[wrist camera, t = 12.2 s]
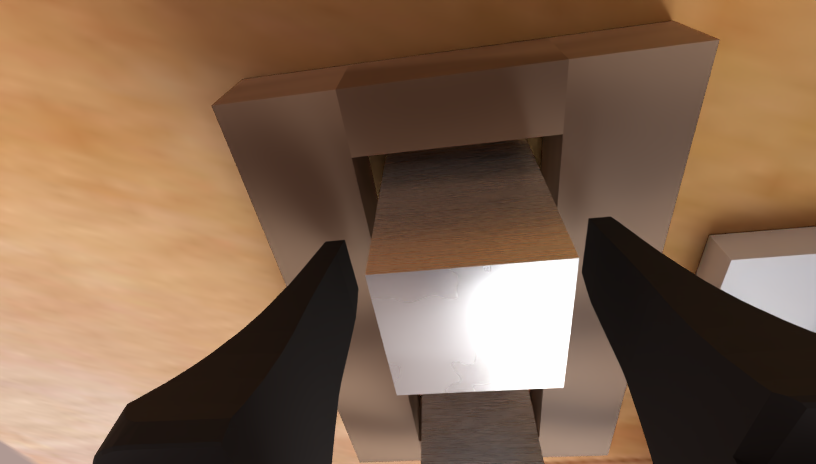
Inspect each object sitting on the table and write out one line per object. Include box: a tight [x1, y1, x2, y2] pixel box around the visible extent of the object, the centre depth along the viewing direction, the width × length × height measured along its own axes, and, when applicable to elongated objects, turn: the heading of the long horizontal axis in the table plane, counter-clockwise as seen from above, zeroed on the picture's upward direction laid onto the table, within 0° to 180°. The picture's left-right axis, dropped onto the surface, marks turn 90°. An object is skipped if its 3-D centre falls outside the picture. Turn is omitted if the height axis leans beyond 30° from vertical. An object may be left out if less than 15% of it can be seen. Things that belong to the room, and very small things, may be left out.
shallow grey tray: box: [696, 227, 816, 333], centre depth 18 cm, size 8×7×2 cm
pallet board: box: [212, 21, 719, 462], centre depth 18 cm, size 20×13×2 cm, turn 8°
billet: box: [365, 138, 579, 395], centre depth 13 cm, size 4×4×7 cm
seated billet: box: [421, 389, 544, 464], centre depth 19 cm, size 4×4×7 cm
